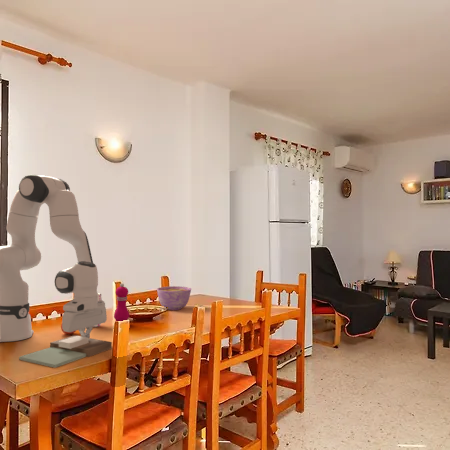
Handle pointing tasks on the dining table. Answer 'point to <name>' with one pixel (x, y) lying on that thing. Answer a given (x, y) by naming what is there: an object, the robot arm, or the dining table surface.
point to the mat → (52, 357)
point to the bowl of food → (173, 296)
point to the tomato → (66, 332)
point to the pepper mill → (121, 304)
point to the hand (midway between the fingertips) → (85, 338)
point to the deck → (87, 346)
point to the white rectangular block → (73, 342)
